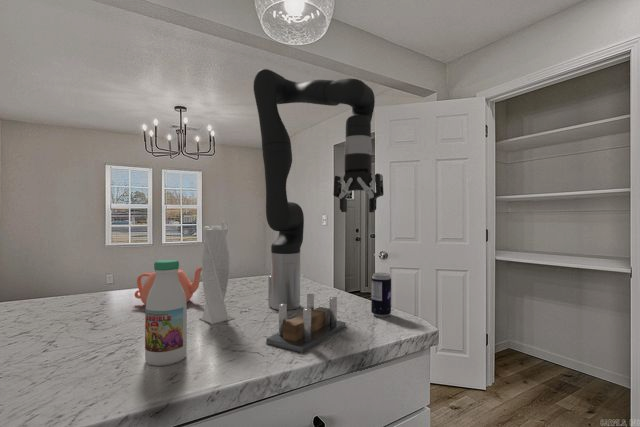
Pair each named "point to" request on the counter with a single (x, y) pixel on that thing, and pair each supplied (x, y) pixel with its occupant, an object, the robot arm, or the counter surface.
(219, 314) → the skyscraper
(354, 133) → the robot arm
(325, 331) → the peg rack
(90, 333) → the counter surface
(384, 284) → the beverage can
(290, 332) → the brown wooden bar
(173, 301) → the milk bottle
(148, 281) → the teapot
